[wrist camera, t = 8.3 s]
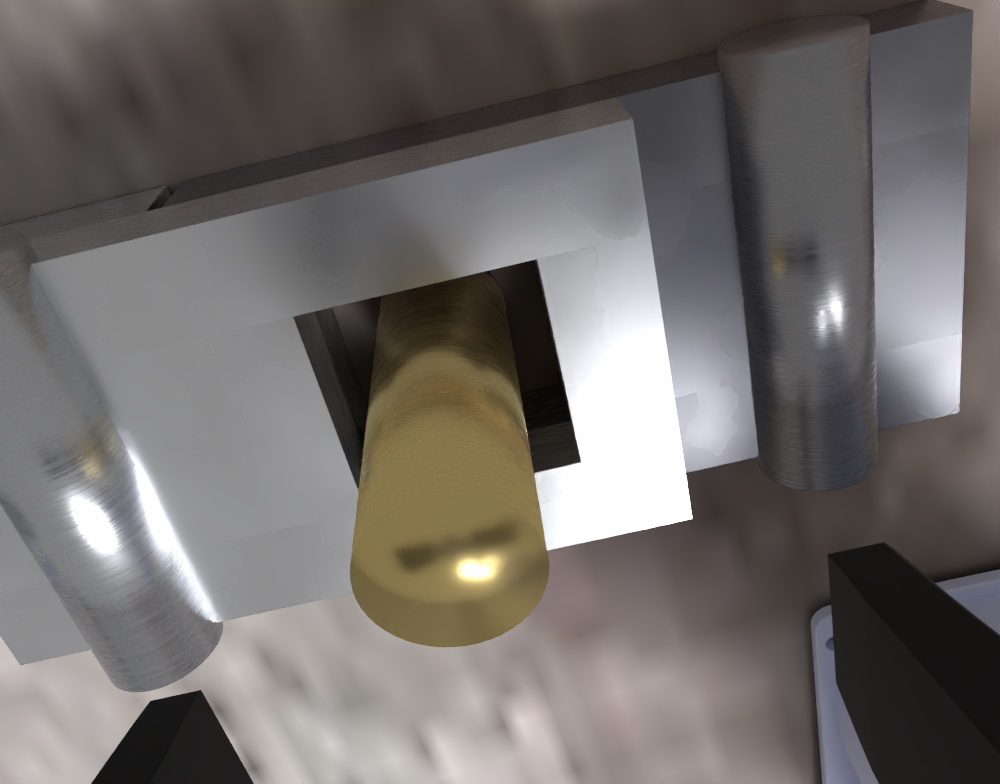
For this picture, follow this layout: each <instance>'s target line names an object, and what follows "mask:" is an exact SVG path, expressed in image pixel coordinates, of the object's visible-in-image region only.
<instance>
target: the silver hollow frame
mask: <svg viewBox="0 0 1000 784" xmlns="http://www.w3.org/2000/svg"><path fill="white" fill-rule="evenodd" d="M170 197H171V194H170V192H169V189H168V187H167V185H166V186H162V187H158V188H154V189H150V190H146V191H142V192H138V193H134V194H130V195H125V196H121V197H117V198H113V199H109V200H105V201H101V202H97V203H93V204H89V205H85V206H80V207H76V208H72V209H68V210H64V211H60V212H56V213H52V214H48V215H44V216H40V217H35V218H31V219H27V220H23V221H19V222H15V223H11V224H7V225H3V226H0V636H1V637H2V639H3V640H4V642H5V643H6V645H7V646H8V647H9V649H10V650H11V652H12V653H13V655H14V656H15V658H16V659H17V661H18V662H19V664H20V665H23V664H28V663H33V662H37V661H42V660H46V659H51V658H56V657H60V656H65V655H69V654H74V653H79V652H83V651H88V650H92V652H93V654H94V655H95V657H96V658H97V660H98V662H99V663H100V665H101V666H102V668H103V670H104V671H105V673H106V674H107V676H108V678H109V679H110V681H111V682H112V683H113V684H114V686H116V687H117V688H119V689H121V690H124V691H129V692H144V691H151V690H154V689H158V688H161V687H164V686H167V685H169V684H171V683H173V682H175V681H177V680H179V679H181V678H183V677H184V676H186V675H187V674H189V673H190V672H192V671H193V670H194V669H196V668H197V667H198V666H199V665H200V664H201V663H203V662H204V660H205V659H206V658H207V657H208V656H209V655H210V654H211V653H212V651H213V650H214V648H215V647H216V645H217V644H218V642H219V640H220V637H221V634H222V630H223V621H226V620H230V619H235V618H239V617H244V616H249V615H253V614H258V613H262V612H267V611H272V610H276V609H281V608H285V607H290V606H294V605H299V604H304V603H308V602H313V601H317V600H322V599H327V598H331V597H336V596H340V595H345V594H350V593H353V590H352V586H351V582H350V563H351V554H352V546H353V537H354V528H355V519H356V510H357V502H358V493H359V484H360V475H361V467H362V458H363V449H364V448H363V445H362V442H361V440H360V437H359V434H358V431H357V429H356V426H355V423H354V420H353V417H352V415H351V412H350V409H349V406H348V404H347V401H346V398H345V395H344V392H343V390H342V387H341V384H340V381H339V379H338V376H337V373H336V370H335V367H334V365H333V362H332V359H331V356H330V354H329V351H328V348H327V345H326V342H325V340H324V337H323V334H322V331H321V329H320V326H319V323H318V320H317V317H316V315H315V312H314V311H319V310H323V309H327V308H331V307H336V306H340V305H344V304H348V303H353V302H357V301H361V300H365V299H370V298H374V297H378V296H382V295H387V294H391V293H395V292H399V291H404V290H408V289H412V288H416V287H421V286H425V285H429V284H433V283H438V282H442V281H446V280H451V279H455V278H459V277H463V276H468V275H472V274H476V273H480V272H485V271H489V270H493V269H497V268H502V267H506V266H510V265H514V264H519V263H523V262H527V261H531V260H536V264H537V268H538V273H539V277H540V282H541V287H542V291H543V296H544V300H545V305H546V310H547V314H548V319H549V323H550V328H551V332H552V337H553V342H554V346H555V351H556V355H557V360H558V364H559V369H560V374H561V378H562V383H563V387H564V392H565V396H566V401H567V406H568V410H569V415H570V419H571V421H568V422H564V423H559V424H555V425H550V426H546V427H541V428H537V429H533V430H528V431H527V435H528V441H529V447H530V452H531V458H532V464H533V470H534V476H535V482H536V488H537V494H538V500H539V506H540V512H541V518H542V524H543V529H544V535H545V541H546V547H547V550H552V549H556V548H561V547H566V546H570V545H575V544H579V543H584V542H589V541H593V540H598V539H602V538H607V537H612V536H616V535H621V534H625V533H630V532H635V531H639V530H644V529H648V528H653V527H658V526H662V525H667V524H671V523H676V522H680V521H685V520H690V519H692V512H691V506H690V499H689V492H688V485H687V479H686V472H685V465H684V459H683V452H682V445H681V438H680V432H679V425H678V418H677V412H676V405H675V398H674V391H673V385H672V378H671V371H670V365H669V358H668V351H667V344H666V338H665V331H664V324H663V318H662V311H661V304H660V297H659V291H658V284H657V277H656V271H655V264H654V257H653V251H652V244H651V237H650V230H649V224H648V217H647V210H646V204H645V197H644V190H643V183H642V177H641V170H640V163H639V157H638V150H637V143H636V136H635V130H634V123H633V118H632V117H631V116H630V114H629V113H628V112H627V111H626V109H625V108H624V107H623V106H622V104H621V103H620V102H619V100H618V99H617V98H616V97H615V98H611V99H607V100H602V101H598V102H594V103H590V104H586V105H582V106H578V107H574V108H570V109H565V110H561V111H557V112H553V113H549V114H545V115H541V116H537V117H533V118H528V119H524V120H520V121H516V122H512V123H508V124H504V125H500V126H496V127H491V128H487V129H483V130H479V131H475V132H471V133H467V134H463V135H459V136H454V137H450V138H446V139H442V140H438V141H434V142H430V143H426V144H422V145H417V146H413V147H409V148H405V149H401V150H397V151H393V152H389V153H385V154H381V155H376V156H372V157H368V158H364V159H360V160H356V161H352V162H348V163H344V164H339V165H335V166H331V167H327V168H323V169H319V170H315V171H311V172H307V173H302V174H298V175H294V176H290V177H286V178H282V179H278V180H274V181H270V182H265V183H261V184H257V185H253V186H249V187H245V188H241V189H237V190H233V191H228V192H224V193H220V194H216V195H212V196H208V197H204V198H200V199H196V200H191V201H187V202H183V203H179V204H175V205H171V206H167V207H163V206H164V205H165V203H166V202H167V201H168V199H169V198H170ZM162 207H163V208H162Z"/></svg>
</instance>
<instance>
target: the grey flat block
mask: <svg viewBox="0 0 1000 784" xmlns="http://www.w3.org/2000/svg"><path fill="white" fill-rule="evenodd" d="M972 24H973V10H970V9H966V8H963V7H959V6H955V5H952V4H948V3H944V2H941V1H937V0H923V1H919V2H915V3H910V4H906V5H902V6H898V7H894V8H890V9H886V10H882V11H878V12H874V13H870V14H866V15H861V16H850V15H827V16H815V17H806V18H799V19H793V20H787V21H782V22H777V23H773V24H769V25H765V26H761V27H757V28H754V29H751V30H748V31H745V32H742V33H739V34H737V35H735V36H732V37H730V38H728V39H726V40H725V41H723V42H722V43H721V44H720V45H719V46H718V48H717V51H714V52H710V53H706V54H702V55H698V56H694V57H690V58H686V59H682V60H677V61H673V62H669V63H665V64H661V65H657V66H653V67H649V68H645V69H641V70H637V71H632V72H628V73H624V74H620V75H616V76H612V77H608V78H604V79H600V80H596V81H592V82H587V83H583V84H579V85H575V86H571V87H567V88H563V89H559V90H555V91H551V92H547V93H543V94H538V95H534V96H530V97H526V98H522V99H518V100H514V101H510V102H506V103H502V104H498V105H493V106H489V107H485V108H481V109H477V110H473V111H469V112H465V113H461V114H457V115H453V116H448V117H444V118H440V119H436V120H432V121H428V122H424V123H420V124H416V125H412V126H408V127H403V128H399V129H395V130H391V131H387V132H383V133H379V134H375V135H371V136H367V137H363V138H359V139H354V140H350V141H346V142H342V143H338V144H334V145H330V146H326V147H322V148H318V149H314V150H309V151H305V152H301V153H297V154H293V155H289V156H285V157H281V158H277V159H273V160H269V161H264V162H260V163H256V164H252V165H248V166H244V167H240V168H236V169H232V170H228V171H224V172H219V173H215V174H211V175H207V176H203V177H199V178H195V179H191V180H187V181H183V182H181V184H180V185H179V186H178V188H177V189H176V190H175V192H174V193H173V194H172V195H171V197H170V198H169V199H168V201H167V202H166V203H165V205H164V206H163V207H167V206H171V205H175V204H179V203H183V202H187V201H191V200H196V199H200V198H204V197H208V196H212V195H216V194H220V193H224V192H228V191H233V190H237V189H241V188H245V187H249V186H253V185H257V184H261V183H265V182H270V181H274V180H278V179H282V178H286V177H290V176H294V175H298V174H302V173H307V172H311V171H315V170H319V169H323V168H327V167H331V166H335V165H339V164H344V163H348V162H352V161H356V160H360V159H364V158H368V157H372V156H376V155H381V154H385V153H389V152H393V151H397V150H401V149H405V148H409V147H413V146H417V145H422V144H426V143H430V142H434V141H438V140H442V139H446V138H450V137H454V136H459V135H463V134H467V133H471V132H475V131H479V130H483V129H487V128H491V127H496V126H500V125H504V124H508V123H512V122H516V121H520V120H524V119H528V118H533V117H537V116H541V115H545V114H549V113H553V112H557V111H561V110H565V109H570V108H574V107H578V106H582V105H586V104H590V103H594V102H598V101H602V100H607V99H611V98H615V97H616V98H617V99H618V100H619V102H620V103H621V104H622V106H623V107H624V108H625V109H626V111H627V112H628V113H629V114H630V116H631V117H632V118H633V123H634V130H635V136H636V143H637V150H638V157H639V163H640V170H641V177H642V183H643V190H644V197H645V204H646V210H647V217H648V224H649V230H650V237H651V244H652V251H653V257H654V264H655V271H656V277H657V284H658V291H659V297H660V304H661V311H662V318H663V324H664V331H665V338H666V344H667V351H668V358H669V365H670V371H671V378H672V385H673V391H674V398H675V405H676V412H677V418H678V425H679V432H680V438H681V445H682V452H683V459H684V465H685V472H686V473H687V472H692V471H696V470H701V469H706V468H710V467H715V466H719V465H724V464H728V463H733V462H737V461H742V460H746V459H751V458H755V457H758V463H759V466H760V468H761V470H762V471H763V472H764V473H765V475H766V476H768V477H769V478H770V479H771V480H773V481H775V482H777V483H779V484H781V485H783V486H786V487H789V488H793V489H797V490H804V491H830V490H836V489H841V488H844V487H848V486H850V485H853V484H855V483H857V482H859V481H861V480H862V479H864V478H865V477H867V476H868V475H869V474H870V473H871V472H872V471H873V470H874V468H875V466H876V464H877V461H878V430H883V429H887V428H892V427H896V426H901V425H905V424H910V423H914V422H919V421H923V420H928V419H932V418H937V417H941V416H946V415H951V414H955V413H959V404H960V375H961V346H962V316H963V287H964V258H965V229H966V199H967V170H968V141H969V111H970V82H971V53H972ZM163 207H162V208H163ZM534 261H535V265H536V270H537V274H538V279H539V283H540V288H541V292H542V297H543V302H544V306H545V311H546V315H547V320H548V324H549V329H550V333H551V338H552V343H553V347H554V352H555V356H556V361H557V365H558V370H559V374H560V369H559V364H558V360H557V355H556V351H555V346H554V342H553V337H552V332H551V328H550V323H549V319H548V314H547V310H546V305H545V300H544V296H543V291H542V287H541V282H540V277H539V273H538V268H537V264H536V260H534ZM314 312H315V315H316V317H317V320H318V323H319V326H320V329H321V331H322V334H323V337H324V340H325V342H326V345H327V348H328V351H329V354H330V356H331V359H332V362H333V365H334V367H335V370H336V373H337V376H338V379H339V381H340V384H341V387H342V390H343V392H344V395H345V398H346V401H347V404H348V406H349V409H350V412H351V415H352V417H353V420H354V423H355V426H356V429H357V431H358V434H359V437H360V440H361V442H362V445H363V448H364V440H365V431H366V423H367V414H368V409H367V406H366V403H365V400H364V398H363V395H362V392H361V389H360V386H359V383H358V380H357V377H356V375H355V372H354V369H353V366H352V363H351V360H350V357H349V355H348V352H347V349H346V346H345V343H344V340H343V337H342V334H341V332H340V329H339V326H338V323H337V320H336V317H335V314H334V311H333V309H332V307H331V308H327V309H323V310H319V311H314ZM560 379H561V384H562V385H558V386H553V387H549V388H544V389H540V390H536V391H531V392H527V393H522V394H521V399H522V405H523V411H524V417H525V423H526V429H527V431H528V430H533V429H537V428H541V427H546V426H550V425H555V424H559V423H564V422H568V421H571V419H570V415H569V410H568V406H567V401H566V396H565V392H564V387H563V383H562V378H561V374H560Z"/></svg>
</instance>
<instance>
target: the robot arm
mask: <svg viewBox="0 0 1000 784" xmlns="http://www.w3.org/2000/svg"><path fill="white" fill-rule="evenodd" d="M828 564H829V580H830V595H831V605H828V606H826V607H823V608H821V609H820V610H818V611H817V612H816V613H815V614H814V616H813V617H812V619H811V635H812V649H813V663H814V677H815V690H816V704H817V718H818V732H819V746H820V760H821V774H822V784H1000V569H999V570H994V571H989V572H985V573H980V574H975V575H970V576H966V577H961V578H956V579H951V580H947V581H942V582H937V583H934V582H933V581H932V580H931V579H929V578H928V577H927V576H926V575H924V574H923V573H922V572H921V571H920V570H918V569H917V568H916V567H915V566H914V565H912V564H911V563H910V562H909V561H908V560H906V559H905V558H904V557H903V556H902V555H900V554H899V553H898V552H897V551H896V550H894V549H893V548H891V547H890V546H888V545H887V544H885V543H884V542H883V543H879V544H874V545H869V546H865V547H860V548H856V549H851V550H846V551H842V552H837V553H832V554H828ZM831 637H833V639H830V638H831ZM91 784H254V783H253V782H252V780H251V778H250V776H249V774H248V773H247V771H246V769H245V767H244V766H243V764H242V762H241V760H240V758H239V757H238V755H237V753H236V751H235V750H234V748H233V746H232V744H231V742H230V741H229V739H228V737H227V735H226V734H225V732H224V730H223V728H222V726H221V725H220V723H219V721H218V719H217V718H216V716H215V714H214V712H213V710H212V709H211V707H210V705H209V703H208V702H207V700H206V698H205V696H204V695H203V693H202V691H201V690H199V691H195V692H190V693H186V694H181V695H176V696H172V697H167V698H162V699H158V700H153V701H150V702H149V704H148V705H147V706H146V708H145V709H144V710H143V712H142V713H141V714H140V716H139V717H138V718H137V720H136V721H135V723H134V724H133V725H132V727H131V728H130V730H129V731H128V732H127V734H126V735H125V737H124V738H123V739H122V741H121V742H120V744H119V745H118V746H117V748H116V749H115V751H114V752H113V754H112V755H111V756H110V758H109V759H108V761H107V762H106V763H105V765H104V766H103V768H102V769H101V771H100V772H99V773H98V775H97V776H96V778H95V779H94V781H93V782H92V783H91Z"/></svg>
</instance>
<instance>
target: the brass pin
mask: <svg viewBox="0 0 1000 784" xmlns="http://www.w3.org/2000/svg"><path fill="white" fill-rule="evenodd" d="M548 576H549V560H548V553H547V547H546V541H545V535H544V529H543V524H542V518H541V512H540V506H539V500H538V494H537V488H536V482H535V476H534V470H533V464H532V458H531V452H530V447H529V441H528V435H527V429H526V423H525V417H524V411H523V405H522V399H521V393H520V387H519V381H518V375H517V370H516V364H515V358H514V352H513V346H512V340H511V334H510V328H509V322H508V316H507V310H506V304H505V300H504V296H503V294H502V291H501V289H500V287H499V286H498V284H497V282H496V281H495V280H494V278H493V277H492V276H491V275H490V274H489V273H488V272H487V271H485V272H480V273H476V274H472V275H468V276H463V277H459V278H455V279H451V280H446V281H442V282H438V283H433V284H429V285H425V286H421V287H416V288H412V289H408V290H404V291H399V292H395V293H391V294H387V295H382V298H381V302H380V309H379V317H378V326H377V335H376V344H375V352H374V361H373V370H372V379H371V388H370V396H369V405H368V414H367V423H366V431H365V440H364V449H363V458H362V467H361V475H360V484H359V493H358V502H357V510H356V519H355V528H354V537H353V546H352V554H351V563H350V582H351V586H352V590H353V593H354V595H355V598H356V600H357V602H358V603H359V605H360V607H361V608H362V610H363V611H364V612H365V613H366V615H367V616H368V617H369V618H370V619H371V620H372V621H373V622H375V623H376V624H377V625H378V626H380V627H381V628H382V629H384V630H385V631H387V632H389V633H391V634H393V635H394V636H397V637H399V638H401V639H404V640H406V641H410V642H413V643H417V644H422V645H427V646H436V647H458V646H467V645H472V644H476V643H480V642H484V641H487V640H490V639H492V638H495V637H497V636H499V635H502V634H503V633H505V632H507V631H509V630H511V629H512V628H514V627H515V626H516V625H518V624H519V623H521V622H522V621H523V620H524V619H525V618H526V617H527V616H528V615H529V614H530V613H531V612H532V611H533V609H534V608H535V607H536V606H537V604H538V602H539V601H540V599H541V598H542V595H543V593H544V591H545V589H546V585H547V581H548Z"/></svg>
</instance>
